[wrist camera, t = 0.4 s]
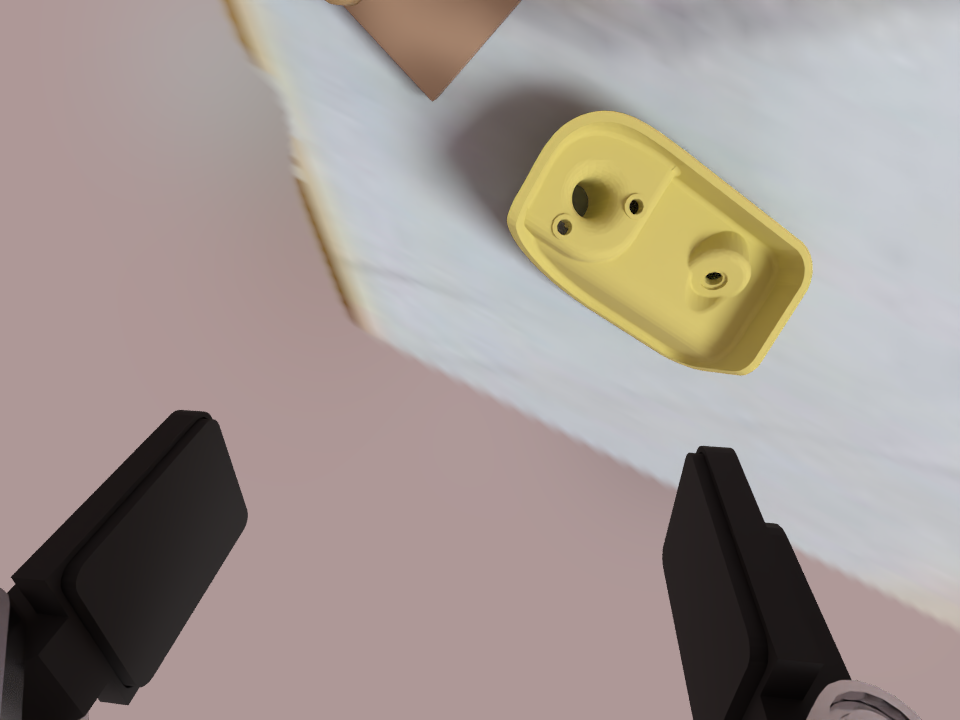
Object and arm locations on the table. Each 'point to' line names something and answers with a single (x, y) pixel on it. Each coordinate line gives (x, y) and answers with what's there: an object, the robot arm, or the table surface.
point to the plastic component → (659, 244)
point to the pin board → (430, 34)
